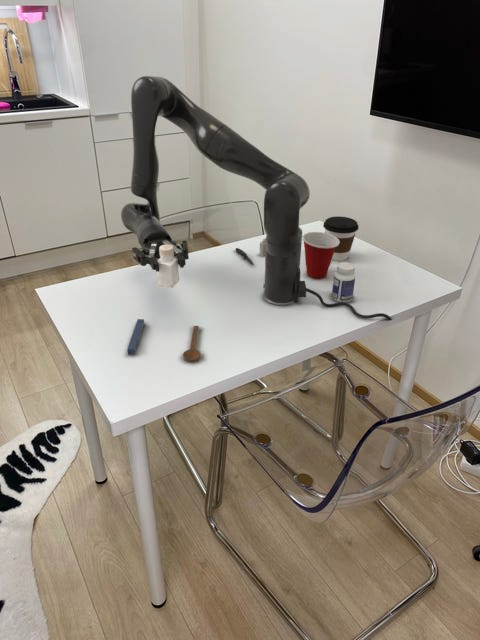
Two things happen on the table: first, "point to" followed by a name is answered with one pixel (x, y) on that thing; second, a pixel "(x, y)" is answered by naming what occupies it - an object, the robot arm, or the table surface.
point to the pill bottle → (343, 282)
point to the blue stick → (135, 337)
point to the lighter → (263, 247)
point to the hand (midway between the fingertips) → (170, 265)
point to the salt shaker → (167, 267)
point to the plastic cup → (319, 253)
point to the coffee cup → (341, 234)
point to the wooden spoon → (193, 348)
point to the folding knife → (243, 255)
